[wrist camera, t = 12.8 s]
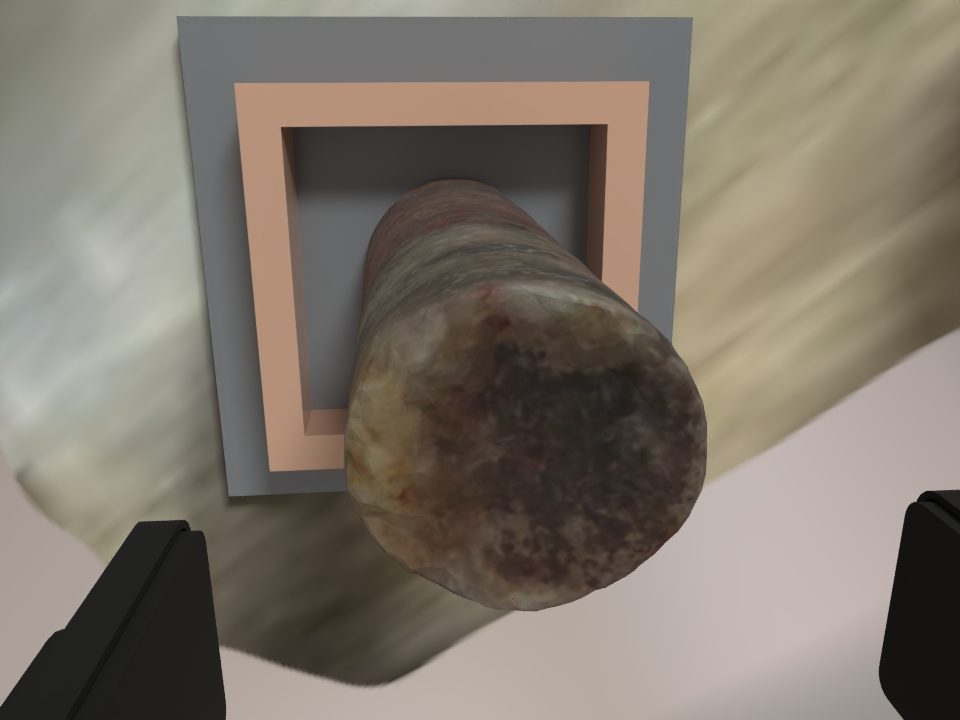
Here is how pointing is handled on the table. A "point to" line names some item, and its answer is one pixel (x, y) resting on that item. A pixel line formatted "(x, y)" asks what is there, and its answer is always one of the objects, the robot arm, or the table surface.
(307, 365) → the tray
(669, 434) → the candle
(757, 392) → the table surface
